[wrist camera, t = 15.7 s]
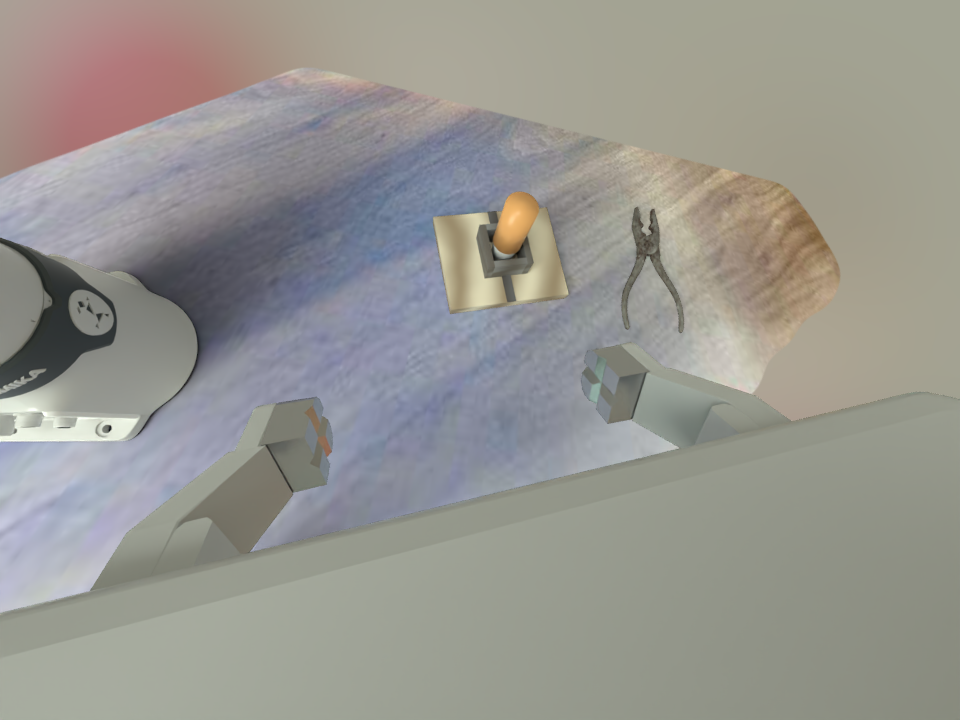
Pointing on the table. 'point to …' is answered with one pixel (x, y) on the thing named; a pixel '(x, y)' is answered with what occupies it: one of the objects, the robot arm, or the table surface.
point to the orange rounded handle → (514, 225)
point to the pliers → (651, 247)
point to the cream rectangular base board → (496, 263)
